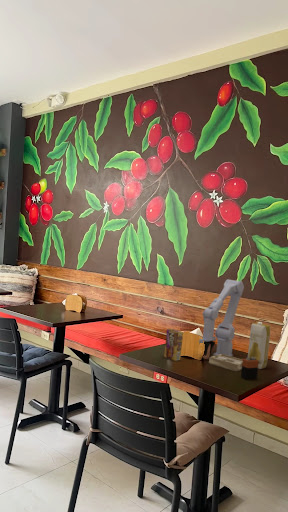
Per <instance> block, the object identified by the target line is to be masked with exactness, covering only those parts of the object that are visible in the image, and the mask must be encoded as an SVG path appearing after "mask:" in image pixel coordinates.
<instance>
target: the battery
mask: <svg viewBox="0 0 288 512" xmlns="http://www.w3.org/2000/svg"><path fill="white" fill-rule="evenodd" d="M242 359H243V362H242V370H241V375H240V378H242V379H244V380H248V381H249V380H256V379H258V370H259V369H258V363H259V361H258V360H257V359H255V357H251V358H248V357H245V358H242Z"/></svg>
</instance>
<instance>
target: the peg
mask: <svg viewBox="0 0 288 512" xmlns="http://www.w3.org/2000/svg"><path fill="white" fill-rule="evenodd" d="M208 344H209V343H208ZM210 345H211V344H210ZM210 345H209V347H208V350H207V355H206V356H205V355H204V356H203V355H202V359H203V360H209V357H211V353H210Z"/></svg>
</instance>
